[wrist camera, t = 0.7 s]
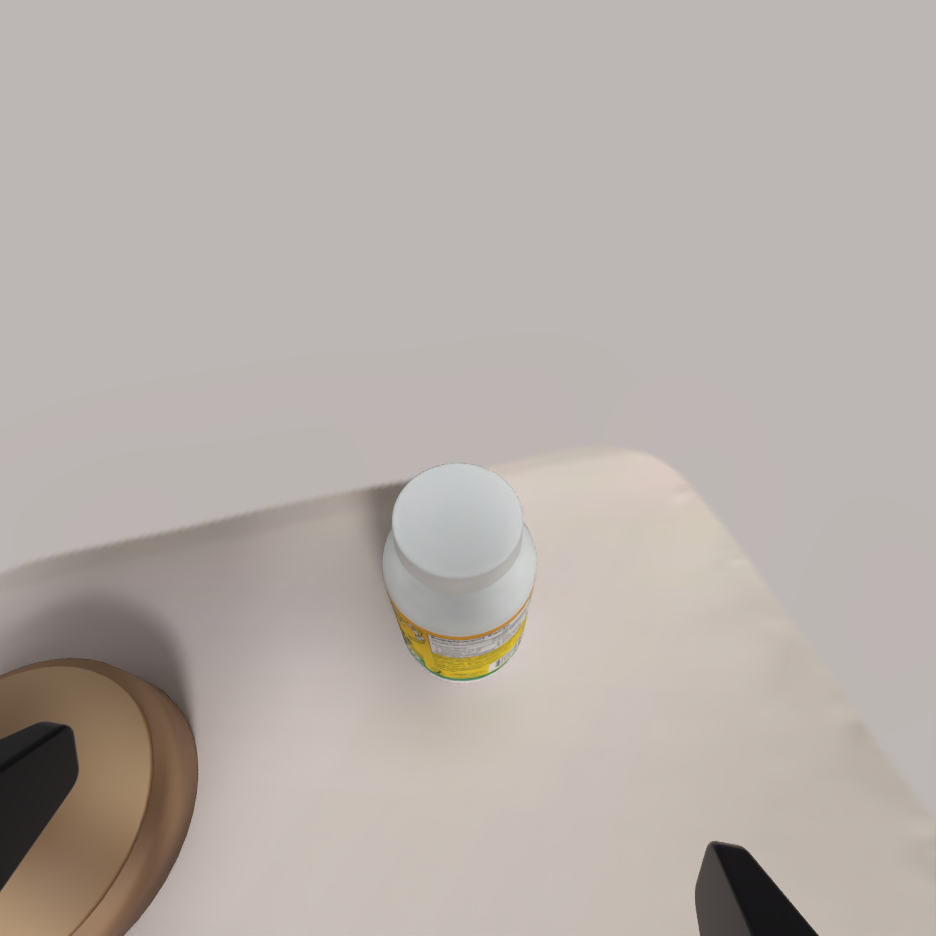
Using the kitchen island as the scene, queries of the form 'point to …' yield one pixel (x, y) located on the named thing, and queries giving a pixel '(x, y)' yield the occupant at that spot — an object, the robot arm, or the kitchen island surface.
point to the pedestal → (100, 799)
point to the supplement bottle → (460, 571)
